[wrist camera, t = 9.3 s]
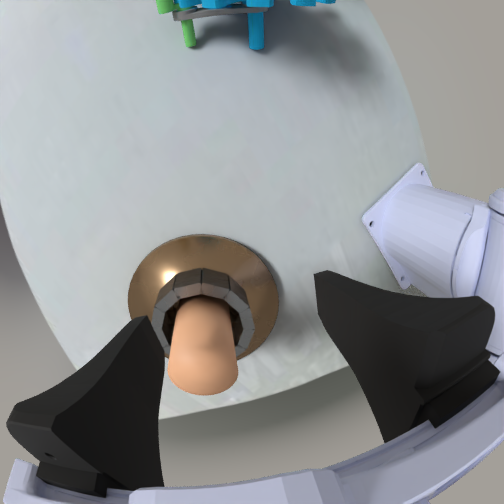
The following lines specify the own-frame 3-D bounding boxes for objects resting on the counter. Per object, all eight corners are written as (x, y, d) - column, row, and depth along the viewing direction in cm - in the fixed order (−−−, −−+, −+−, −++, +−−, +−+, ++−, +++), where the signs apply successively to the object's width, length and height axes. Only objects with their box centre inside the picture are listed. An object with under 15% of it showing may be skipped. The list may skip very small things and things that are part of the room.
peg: (239, 310, 21) (252, 373, 15) (202, 338, 21) (203, 403, 15) (204, 276, 20) (202, 334, 13) (167, 307, 20) (153, 370, 14)
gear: (315, -27, 11) (363, -7, 7) (311, 29, 17) (348, 80, 13) (171, -20, 12) (131, 3, 7) (182, 36, 17) (156, 90, 13)
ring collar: (304, 305, 23) (317, 325, 20) (205, 380, 24) (206, 404, 21) (203, 199, 18) (201, 207, 15) (103, 303, 20) (91, 324, 17)
